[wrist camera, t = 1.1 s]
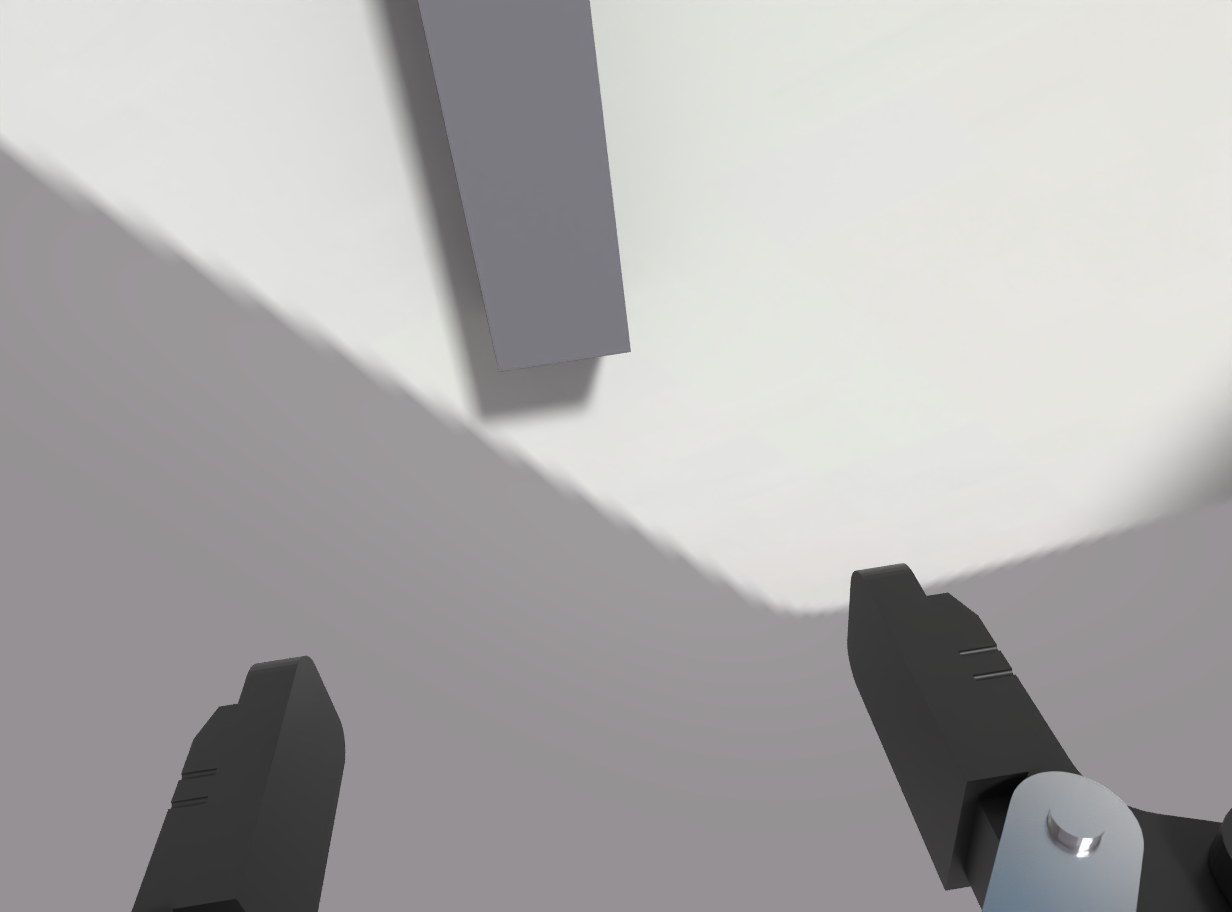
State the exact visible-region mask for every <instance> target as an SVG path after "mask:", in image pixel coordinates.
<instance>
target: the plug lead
mask: <svg viewBox="0 0 1232 912" xmlns="http://www.w3.org/2000/svg"><path fill="white" fill-rule="evenodd" d="M418 4H419V8H420V13H421V18H422V22H423V27H424V31H425V36H426V40H427V45H428V49H429V54H430V59H431V63H432V68H433V72H434V77H435V81H436V86H437V91H438V95H439V100H440V104H441V109H442V113H443V118H444V123H445V127H446V132H447V136H448V141H449V145H450V150H451V155H452V159H453V164H454V168H455V173H456V177H457V182H458V186H459V191H460V196H461V200H462V205H463V209H464V214H465V218H466V223H467V228H468V232H469V237H470V241H471V246H472V250H473V255H474V260H475V264H476V269H477V273H478V278H479V282H480V287H481V292H482V296H483V301H484V305H485V310H486V314H487V319H488V324H489V328H490V333H491V337H492V342H493V346H494V351H495V355H496V360H497V365H498V369H499V372H501V371H508V370H514V369H521V368H527V367H534V366H541V365H547V364H554V363H560V362H567V361H574V360H580V359H587V358H594V357H600V356H607V355H613V354H620V353H627V352H631V349H630V341H629V332H628V324H627V315H626V307H625V298H624V290H623V281H622V273H621V264H620V256H619V247H618V239H617V230H616V222H615V214H614V205H613V197H612V188H611V180H610V171H609V163H608V154H607V146H606V137H605V129H604V120H603V112H602V103H601V95H600V86H599V78H598V69H597V61H596V52H595V44H594V35H593V27H592V18H591V10H590V1H589V0H418Z"/></svg>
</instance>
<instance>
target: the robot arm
mask: <svg viewBox="0 0 1232 912" xmlns="http://www.w3.org/2000/svg"><path fill="white" fill-rule="evenodd" d="M848 622H849V623H848V639H847V646H848V656H849V661H850V666H851V670H852V673H853V677H854V680H855V683H856V685H857V688H858V690H859V692H860V695H861V697H862V699H863V702H864V704H865V706H866V708H867V711H868V713H869V715H870V717H871V720H872V722H873V725H874V727H875V729H876V731H877V734H878V736H879V738H880V741H881V743H882V745H883V748H884V750H885V752H886V755H887V757H888V759H889V762H890V764H891V766H892V769H893V771H894V773H895V775H896V778H897V780H898V782H899V785H900V787H901V789H902V792H903V794H904V796H905V799H906V801H907V803H908V806H909V808H910V810H911V812H912V815H913V817H914V819H915V822H916V824H917V826H918V828H919V831H920V833H921V836H922V838H923V840H924V842H925V845H926V847H927V849H928V852H929V854H930V856H931V859H932V861H933V863H934V865H935V868H936V870H937V872H938V875H939V877H940V879H941V882H942V884H943V886H944V889H945V890H951V889H957V888H963V887H969V886H971V887H972V889H973V892H974V894H975V896H976V898H977V900H978V903H979V905H980V907H981V909H982V912H1232V809H1231V810H1230V811H1229V812H1228V814H1227V815H1226V816H1225V818H1224V820H1223V822H1222V823H1220V822H1213V821H1206V820H1199V819H1191V818H1184V817H1177V816H1169V815H1162V814H1156V813H1151V812H1146V811H1142V810H1139V809H1136V808H1132V807H1130V806H1127V805H1126V804H1125V803H1124V802H1123V801H1122V800H1121V799H1120V798H1119V797H1118V796H1117V795H1116V794H1114V793H1113V792H1111V791H1110V790H1109V789H1107V788H1106V787H1104V786H1103V785H1101V784H1099V783H1097V782H1095V781H1093V780H1091V779H1089V778H1086V777H1084V776H1082V775H1081V774H1080V773H1079V771H1078V770H1077V769H1076V768H1075V766H1074V765H1073V764H1072V762H1071V761H1070V759H1069V758H1068V756H1067V754H1066V753H1065V751H1064V750H1063V748H1062V746H1061V745H1060V743H1059V742H1058V740H1057V739H1056V737H1055V735H1054V734H1053V733H1052V731H1051V730H1050V728H1049V726H1048V724H1047V723H1046V721H1045V720H1044V718H1043V717H1042V715H1041V714H1040V712H1039V710H1038V709H1037V707H1036V706H1035V704H1034V703H1033V701H1032V699H1031V698H1030V696H1029V695H1028V693H1027V692H1026V690H1025V688H1024V687H1023V685H1022V684H1021V682H1020V681H1019V679H1018V677H1017V676H1016V675H1013V673H1012V668H1011V667H1010V665H1009V663H1008V662H1007V660H1006V659H1005V657H1004V655H1003V654H1002V653H1001V651H998V649H997V645H996V643H995V641H994V640H993V638H992V637H991V635H990V633H989V632H988V631H987V629H986V627H985V626H984V624H983V622H982V621H981V619H980V618H979V616H978V615H977V614H975V613H974V612H972V611H971V610H970V609H969V608H967V607H966V606H965V605H963V604H962V603H961V602H960V601H958V600H957V599H956V598H954V597H953V596H952V595H950V594H949V593H943V594H937V595H930V596H926V595H925V593H924V591H923V589H922V587H921V586H920V584H919V582H918V581H917V579H916V577H915V575H914V574H913V572H912V571H911V569H910V568H909V567H908V566H907V565H906V564H904V563H902V564H895V565H889V566H883V567H876V568H870V569H864V570H857V571H854V572H853V574H852V577H851V587H850V604H849V621H848ZM344 763H345V740H344V733H343V728H342V724H341V721H340V719H339V717H338V714H337V712H336V710H335V708H334V706H333V703H332V701H331V699H330V697H329V695H328V692H327V690H326V688H325V686H324V684H323V682H322V679H321V677H320V675H319V673H318V671H317V668H316V666H315V664H314V662H313V661H312V659H311V658H310V657H308V656H302V657H296V658H289V659H283V660H276V661H270V662H264V663H257V664H254V665H253V666H252V667H251V668H250V670H249V672H248V674H247V677H246V681H245V684H244V687H243V690H242V693H241V696H240V699H239V702H238V704H233V705H227V706H221V707H219V708H218V709H217V710H216V712H215V713H214V714H213V715H212V717H211V718H210V719H209V720H208V722H207V723H206V724H205V725H204V727H203V728H202V729H201V731H200V732H199V733H198V734H197V736H196V737H195V738H194V740H193V743H192V745H191V748H190V751H189V754H188V756H187V760H186V762H185V765H184V768H183V770H182V780H179V781H178V784H177V787H176V790H175V793H174V796H173V798H172V801H171V803H172V808H171V809H168V812H167V815H166V817H165V820H164V823H163V826H162V829H161V831H160V834H159V837H158V840H157V843H156V845H155V848H154V851H153V854H152V856H151V859H150V862H149V865H148V867H147V870H146V873H145V876H144V879H143V882H142V884H141V887H140V890H139V893H138V895H137V898H136V901H135V904H134V907H133V909H132V912H318V908H319V902H320V897H321V891H322V885H323V880H324V874H325V868H326V863H327V858H328V852H329V846H330V841H331V836H332V830H333V825H334V819H335V814H336V808H337V802H338V797H339V791H340V786H341V780H342V775H343V769H344Z"/></svg>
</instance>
